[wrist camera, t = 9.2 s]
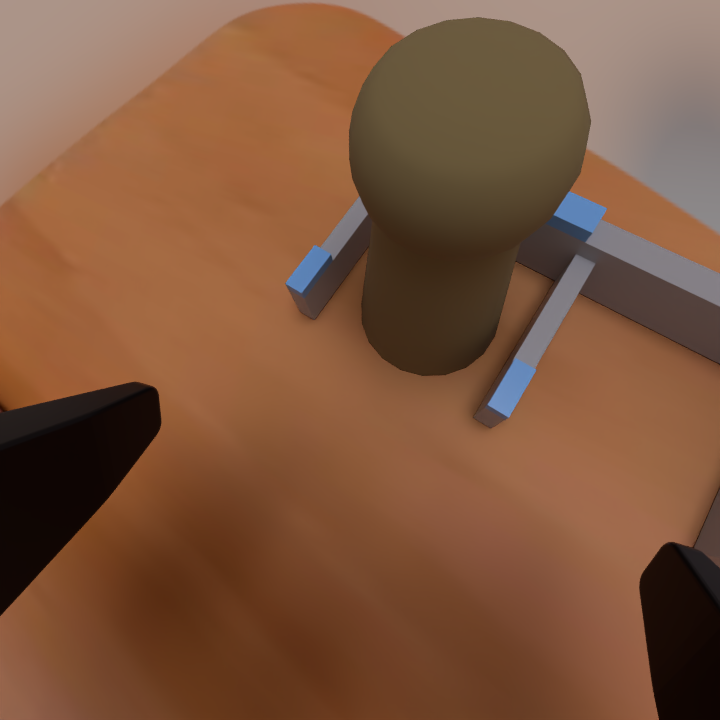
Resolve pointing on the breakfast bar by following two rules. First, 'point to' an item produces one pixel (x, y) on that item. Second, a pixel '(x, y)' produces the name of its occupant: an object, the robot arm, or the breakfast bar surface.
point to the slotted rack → (561, 296)
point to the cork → (458, 180)
